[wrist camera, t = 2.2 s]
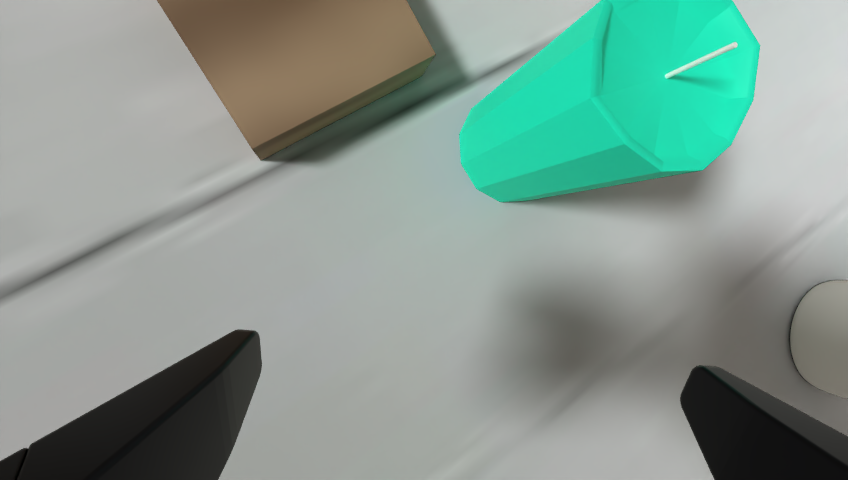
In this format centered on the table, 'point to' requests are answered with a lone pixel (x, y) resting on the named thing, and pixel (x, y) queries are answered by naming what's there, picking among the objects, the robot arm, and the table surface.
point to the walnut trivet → (299, 59)
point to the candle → (616, 101)
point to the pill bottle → (823, 337)
